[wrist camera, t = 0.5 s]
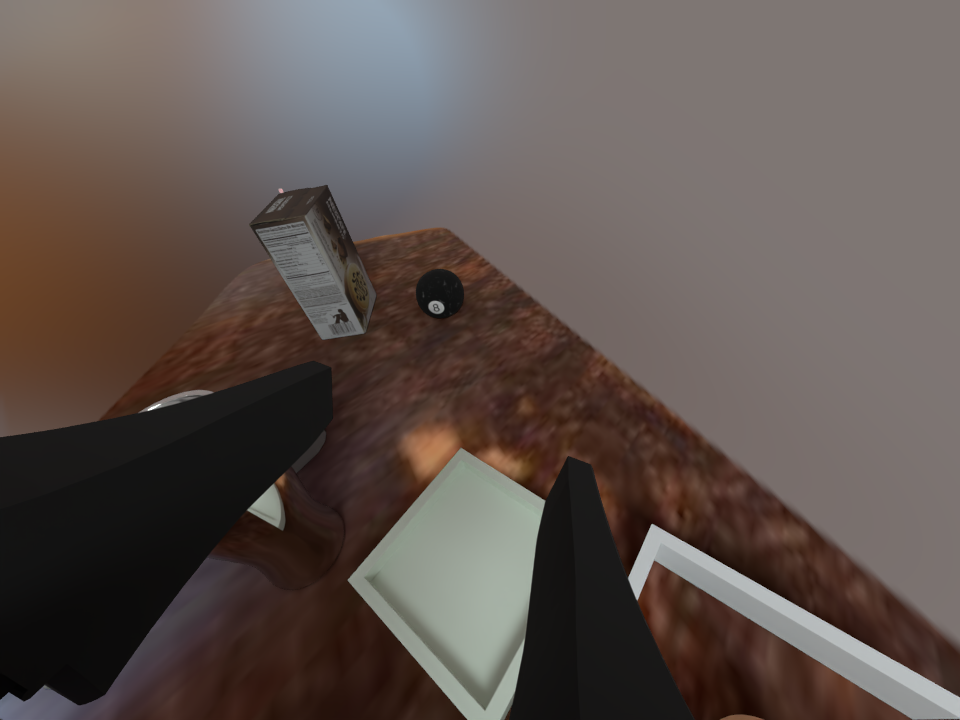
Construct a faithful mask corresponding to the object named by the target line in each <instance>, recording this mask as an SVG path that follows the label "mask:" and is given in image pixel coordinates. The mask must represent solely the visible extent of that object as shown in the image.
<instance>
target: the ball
mask: <svg viewBox="0 0 960 720" xmlns="http://www.w3.org/2000/svg"><path fill="white" fill-rule="evenodd" d="M720 720H764V719H761V718H758V717H754V716H749V715H731V716H727V717H725V718H722V719H720Z"/></svg>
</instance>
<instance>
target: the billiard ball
mask: <svg viewBox="0 0 960 720" xmlns="http://www.w3.org/2000/svg"><path fill="white" fill-rule="evenodd" d="M416 298H417V302H418V304H419V306H420V308H421V309H422V310H423V311H424V312H425V313H426V314H427V315H429V316H431V317H435V318H446V317H449V316H451V315H453V314H455V313H456V312H457V311H458V310H459V309H460V307H461V305H462V303H463V299H464V290H463V286H462V283H461V281H460V280H459V278H458V277H457V276H456V275H455V274H454V273H452V272H451V271H448V270H444V269H435V270H432V271H429V272H427V273H426V274H424V275H423V276H422V277H421V278H420V280H419V281H418V284H417V287H416Z"/></svg>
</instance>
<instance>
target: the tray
mask: <svg viewBox="0 0 960 720" xmlns="http://www.w3.org/2000/svg"><path fill="white" fill-rule="evenodd" d="M544 504H545V500H543V499H541V498H540V497H538V496H537V495H535V494H533V493H532V492H530V491H529V490H527V489H526V488H524V487H522V486H521V485H519V484H518V483H516V482H514V481H513V480H511V479H510V478H508V477H506V476H505V475H503V474H502V473H500V472H499V471H497V470H495V469H494V468H492V467H491V466H489V465H487V464H486V463H484V462H483V461H481V460H479V459H478V458H476V457H475V456H473V455H472V454H470V453H468V452H467V451H465V450H464V449H462V448H460V449H459V451H458V452H457V453H456V454H455V455H454V456H453V458H452V459H451V460H450V461H449V462H448V463H447V465H446V466H445V467H444V468H443V469H442V470H441V472H440V473H439V474H438V475H437V476H436V477H435V479H434V480H433V481H432V482H431V483H430V484H429V486H428V487H427V488H426V489H425V490H424V491H423V493H422V494H421V495H420V496H419V497H418V499H417V500H416V501H415V502H414V503H413V504H412V506H411V507H410V508H409V509H408V510H407V511H406V513H405V514H404V515H403V516H402V517H401V518H400V520H399V521H398V522H397V523H396V524H395V525H394V527H393V528H392V529H391V530H390V531H389V532H388V534H387V535H386V536H385V537H384V538H383V539H382V541H381V542H380V543H379V544H378V545H377V546H376V548H375V549H374V550H373V551H372V552H371V553H370V555H369V556H368V557H367V558H366V559H365V560H364V562H363V563H362V564H361V565H360V566H359V567H358V569H357V570H356V571H355V572H354V573H353V574H352V576H351V577H350V578H349V579H348V581H349V582H350V584H351V585H352V586H353V587H354V588H355V589H356V591H357V592H358V593H359V594H360V595H361V596H362V598H363V599H364V600H365V601H366V602H367V603H368V605H369V606H370V607H371V608H372V609H373V610H374V612H375V613H376V614H377V615H378V616H379V617H380V619H381V620H382V621H383V622H384V623H385V624H386V625H387V627H388V628H389V629H390V630H391V631H392V632H393V634H394V635H395V636H396V637H397V638H398V639H399V641H400V642H401V643H402V644H403V645H404V646H405V648H406V649H407V650H408V651H409V652H410V653H411V655H412V656H413V657H414V658H415V659H416V660H417V662H418V663H419V664H420V665H421V666H422V667H423V668H424V670H425V671H426V672H427V673H428V674H429V675H430V677H431V678H432V679H433V680H434V681H435V682H436V684H437V685H438V686H439V687H440V688H441V689H442V691H443V692H444V693H445V694H446V695H447V696H448V698H449V699H450V700H451V701H452V702H453V703H454V705H455V706H456V707H457V708H458V709H459V710H460V712H461V713H462V714H463V715H464V716H465V717H466V718H467V720H504V719H505V717H506V715H507V713H508V711H509V709H510V708H511V706H512V704H513V699H514V694H515V689H516V684H517V679H518V674H519V669H520V664H521V659H522V654H523V648H524V641H525V635H526V627H527V619H528V610H529V601H530V592H531V583H532V574H533V566H534V557H535V548H536V540H537V535H538V530H539V526H540V521H541V517H542V513H543V508H544Z"/></svg>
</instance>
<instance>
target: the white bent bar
mask: <svg viewBox="0 0 960 720" xmlns="http://www.w3.org/2000/svg"><path fill="white" fill-rule="evenodd" d="M654 560H655V561H656V562H658V563H660V564H661V565H663V566H665V567H666V568H668V569H669V570H671V571H673V572H674V573H676V574H678V575H679V576H681V577H682V578H684V579H686V580H687V581H689V582H691V583H692V584H694V585H695V586H697V587H699V588H700V589H702V590H704V591H705V592H707V593H708V594H710V595H712V596H713V597H715V598H717V599H718V600H720V601H721V602H723V603H725V604H726V605H728V606H729V607H731V608H733V609H734V610H736V611H738V612H739V613H741V614H742V615H744V616H746V617H747V618H749V619H751V620H752V621H754V622H755V623H757V624H759V625H760V626H762V627H764V628H765V629H767V630H768V631H770V632H772V633H773V634H775V635H777V636H778V637H780V638H781V639H783V640H785V641H786V642H788V643H790V644H791V645H793V646H794V647H796V648H798V649H799V650H801V651H803V652H804V653H806V654H807V655H809V656H811V657H812V658H814V659H816V660H817V661H819V662H820V663H822V664H824V665H825V666H827V667H829V668H830V669H832V670H833V671H835V672H837V673H838V674H840V675H842V676H843V677H845V678H846V679H848V680H850V681H851V682H853V683H854V684H856V685H858V686H859V687H861V688H863V689H864V690H866V691H867V692H869V693H871V694H872V695H874V696H876V697H877V698H879V699H880V700H882V701H884V702H885V703H887V704H889V705H890V706H892V707H893V708H895V709H897V710H898V711H900V712H902V713H903V714H905V715H906V716H908V717H910V718H911V719H960V698H959V697H958V696H956V695H954V694H952V693H951V692H949V691H947V690H945V689H943V688H942V687H940V686H938V685H936V684H935V683H933V682H931V681H929V680H928V679H926V678H924V677H922V676H920V675H919V674H917V673H915V672H913V671H912V670H910V669H908V668H906V667H905V666H903V665H901V664H899V663H897V662H896V661H894V660H892V659H890V658H889V657H887V656H885V655H883V654H882V653H880V652H878V651H876V650H874V649H873V648H871V647H869V646H867V645H866V644H864V643H862V642H860V641H859V640H857V639H855V638H853V637H851V636H850V635H848V634H846V633H844V632H843V631H841V630H839V629H837V628H836V627H834V626H832V625H830V624H828V623H827V622H825V621H823V620H821V619H820V618H818V617H816V616H814V615H813V614H811V613H809V612H807V611H805V610H804V609H802V608H800V607H798V606H797V605H795V604H793V603H791V602H790V601H788V600H786V599H784V598H782V597H781V596H779V595H777V594H775V593H774V592H772V591H770V590H768V589H767V588H765V587H763V586H761V585H759V584H758V583H756V582H754V581H752V580H751V579H749V578H747V577H745V576H744V575H742V574H740V573H738V572H736V571H735V570H733V569H731V568H729V567H728V566H726V565H724V564H722V563H721V562H719V561H717V560H715V559H713V558H712V557H710V556H708V555H706V554H705V553H703V552H701V551H699V550H698V549H696V548H694V547H692V546H690V545H689V544H687V543H685V542H683V541H682V540H680V539H678V538H676V537H675V536H673V535H671V534H669V533H667V532H666V531H664V530H662V529H660V528H659V527H657V526H655V525H653V524H652V525H651V527H650V529H649V531H648V534H647V536H646V538H645V541H644V543H643V545H642V547H641V550H640V552H639V554H638V557H637V559H636V561H635V564H634V566H633V568H632V570H631V573H630V575H629V577H628V580H629V582H630V585H631V587H632V590H633V592H634V595H635V597H636V599H637V600H638V598H639V595H640V593H641V590H642V588H643V585H644V583H645V580H646V578H647V575H648V573H649V571H650V568H651V566H652V563H653V561H654Z"/></svg>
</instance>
